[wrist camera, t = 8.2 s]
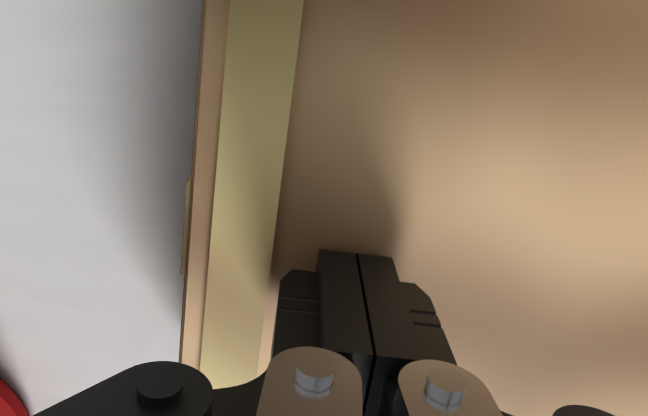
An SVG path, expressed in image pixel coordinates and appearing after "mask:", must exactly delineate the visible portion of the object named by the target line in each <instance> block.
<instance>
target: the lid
mask: <svg viewBox="0 0 648 416" xmlns="http://www.w3.org/2000/svg"><path fill="white" fill-rule="evenodd" d="M319 249H326V250H334V251H343V252H351V253H355V255H356V253H360V254H369V255H377V256H385V257H392V259H393V261H394V265H395V268H396V271H397V274H398V277H399V280H400V282H408V283H415V284H416V285H417V286H418V287H420V288H421V289H422V290H423V291H424V292H425V293H426V294H427V295H428V296H429V297H430V298H431V300H432V303H433V305H434V308H435V310H436V315H437V316H438V318H439V320H440V323H441V328H443V330H444V333H445V335H446V338H447V340H448V343H449V345H450V348H451V350H452V353H453V355H454V358H455V360H456V363H457V365H458V366H459V367H462V368H463V369H465V370H467V371H469V372H470V373H472V374H473V375H475V376H476V377H477V378H479V379H480V380H481V381H482V382H483V383H484V384H485V386H486V387H487V388H488V390H489V392H490V393H491V395H492V397H493V399H494V400H495V402H496V404H497V406H498V408H499V409H500V410H501V411H503V412H505V413H508V414H510V415H513V416H552V415H553V413H554V412H555V411H556V410H557V409H558V408H560V407H563V406H567V405H584V406H590V407H593V408H597V409H600V410H603V411H606V412H608V413H610V414H612V415H615V416H648V0H207V2H206V17H205V31H204V46H203V60H202V75H201V89H200V104H199V119H198V133H197V148H196V162H195V177H194V191H193V206H192V221H191V235H190V250H189V264H188V279H187V294H186V308H185V323H184V337H183V352H182V364H186V365H188V366H191V367H193V368H195V369H197V370H199V371H200V372H201V373H203V374H204V375H205V376H206V377H207V378H208V380H209V381H210V383H211V385H212V388H213V389H219V388H227V387H233V386H238V385H241V384H245V383H247V382H250V381H252V380H254V379H255V378H257V377H259V376H260V375H261V374H262V373H264V372H265V371H266V369H267V367H268V365H269V362H270V356H271V347H272V339H273V331H274V324H275V316H276V308H277V301H278V293H279V285H280V280H281V279H282V278H283V277H284V276H285V275H286V274H287V273H288V272H289V271H290V270H291V269H295V270H304V271H312V272H315V271H316V264H317V258H318V253H319Z"/></svg>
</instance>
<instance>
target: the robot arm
mask: <svg viewBox="0 0 648 416" xmlns="http://www.w3.org/2000/svg"><path fill="white" fill-rule="evenodd" d="M33 416H513V415H510V414H508V413H505V412H503V411H501V410H500V409H499V408H498V406H497V404H496V402H495V400H494V399H493V397H492V395H491V393H490V392H489V390H488V388H487V387H486V386H485V384H484V383H483V382H482V381H481V380H480V379H479V378H477V377H476V376H475V375H473V374H472V373H470V372H469V371H467V370H465V369H463V368H462V367H459V366H458V365H457V363H456V360H455V358H454V355H453V353H452V350H451V348H450V345H449V343H448V340H447V338H446V335H445V333H444V330H443V328H441V323H440V320H439V318H438V316H437V315H436V310H435V308H434V305H433V303H432V300H431V298H430V297H429V296H428V295H427V294H426V293H425V292H424V291H423V290H422V289H421V288H420V287H418V286H417V285H416V284H415V283H408V282H400V280H399V277H398V274H397V271H396V268H395V265H394V261H393V259H392V257H385V256H377V255H369V254H360V253H356V255H355V253H351V252H343V251H334V250H326V249H319V253H318V258H317V264H316V271H315V272H312V271H304V270H295V269H291V270H290V271H289V272H288V273H287V274H286V275H285V276H284V277H283V278H282V279H281V280H280V285H279V293H278V301H277V308H276V316H275V324H274V331H273V339H272V347H271V356H270V362H269V365H268V367H267V369H266V371H265V372H264V373H262V374H261V375H260V376H259V377H257V378H255V379H254V380H252V381H250V382H247V383H245V384H241V385H238V386H233V387H227V388H219V389H213V388H212V385H211V383H210V381H209V380H208V378H207V377H206V376H205V375H204V374H203V373H201V372H200V371H199V370H197V369H195V368H193V367H191V366H188V365H186V364H182V363H178V362H170V361H157V362H148V363H143V364H140V365H136V366H133V367H131V368H129V369H126V370H124V371H122V372H120V373H118V374H116V375H114V376H112V377H110V378H108V379H106V380H104V381H102V382H100V383H98V384H96V385H94V386H92V387H90V388H88V389H86V390H84V391H82V392H80V393H78V394H76V395H74V396H72V397H70V398H68V399H66V400H64V401H61V402H59V403H57V404H55V405H53V406H51V407H49V408H47V409H45V410H43V411H41V412H39V413H37V414H35V415H33ZM552 416H615V415H612V414H610V413H608V412H606V411H603V410H600V409H597V408H593V407H590V406H584V405H567V406H563V407H560V408H558V409H557V410H556V411H555V412H554V413H553V415H552Z"/></svg>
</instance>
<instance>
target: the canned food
mask: <svg viewBox="0 0 648 416" xmlns="http://www.w3.org/2000/svg"><path fill="white" fill-rule="evenodd" d="M0 416H29V415H28V413H27V410H26V409H25V407H24V406H23V404H22V403H21V401H20V400H19V398H18V397H17V395H16V394H15V393H14V392H13V391H12V390H11V389H10V388H9V387H8V386H7V385H6V384H5V383H4V382H3V381H2V380H1V379H0Z"/></svg>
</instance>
